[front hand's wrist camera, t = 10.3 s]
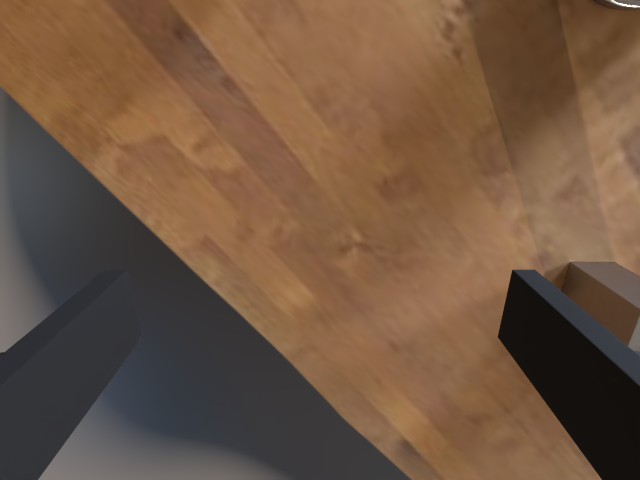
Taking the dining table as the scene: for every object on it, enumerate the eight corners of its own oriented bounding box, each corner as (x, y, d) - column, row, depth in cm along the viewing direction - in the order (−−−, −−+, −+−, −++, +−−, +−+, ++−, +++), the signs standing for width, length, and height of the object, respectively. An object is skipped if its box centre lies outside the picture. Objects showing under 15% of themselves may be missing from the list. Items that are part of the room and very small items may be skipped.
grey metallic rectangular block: (555, 313, 51) (618, 371, 40) (569, 261, 48) (641, 310, 37) (597, 313, 51) (672, 371, 40) (614, 261, 48) (699, 310, 37)
